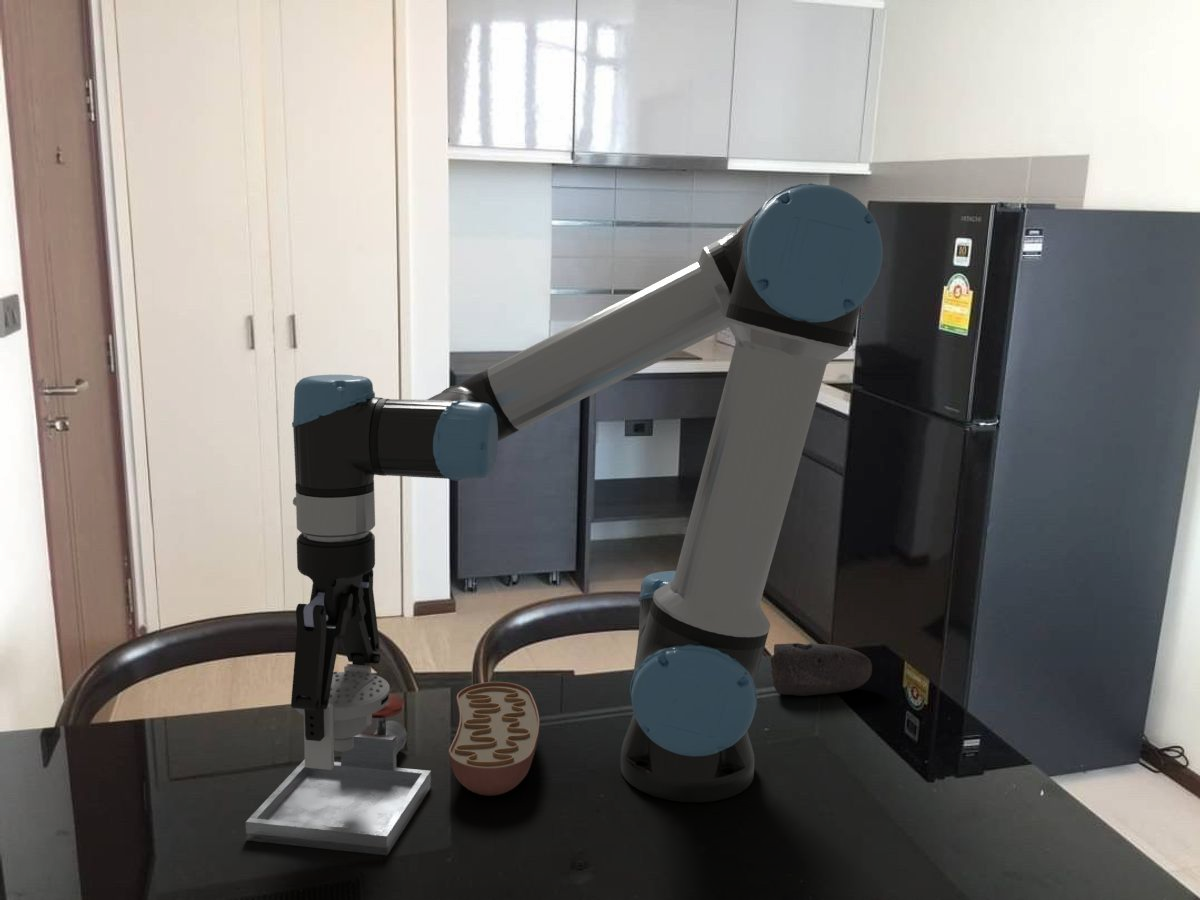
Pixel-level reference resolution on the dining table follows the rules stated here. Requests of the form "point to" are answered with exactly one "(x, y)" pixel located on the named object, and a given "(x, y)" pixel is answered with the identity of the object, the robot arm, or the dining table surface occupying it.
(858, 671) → the perforated stone tool
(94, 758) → the dining table surface
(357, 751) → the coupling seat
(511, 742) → the anatomical model
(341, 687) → the showerhead
